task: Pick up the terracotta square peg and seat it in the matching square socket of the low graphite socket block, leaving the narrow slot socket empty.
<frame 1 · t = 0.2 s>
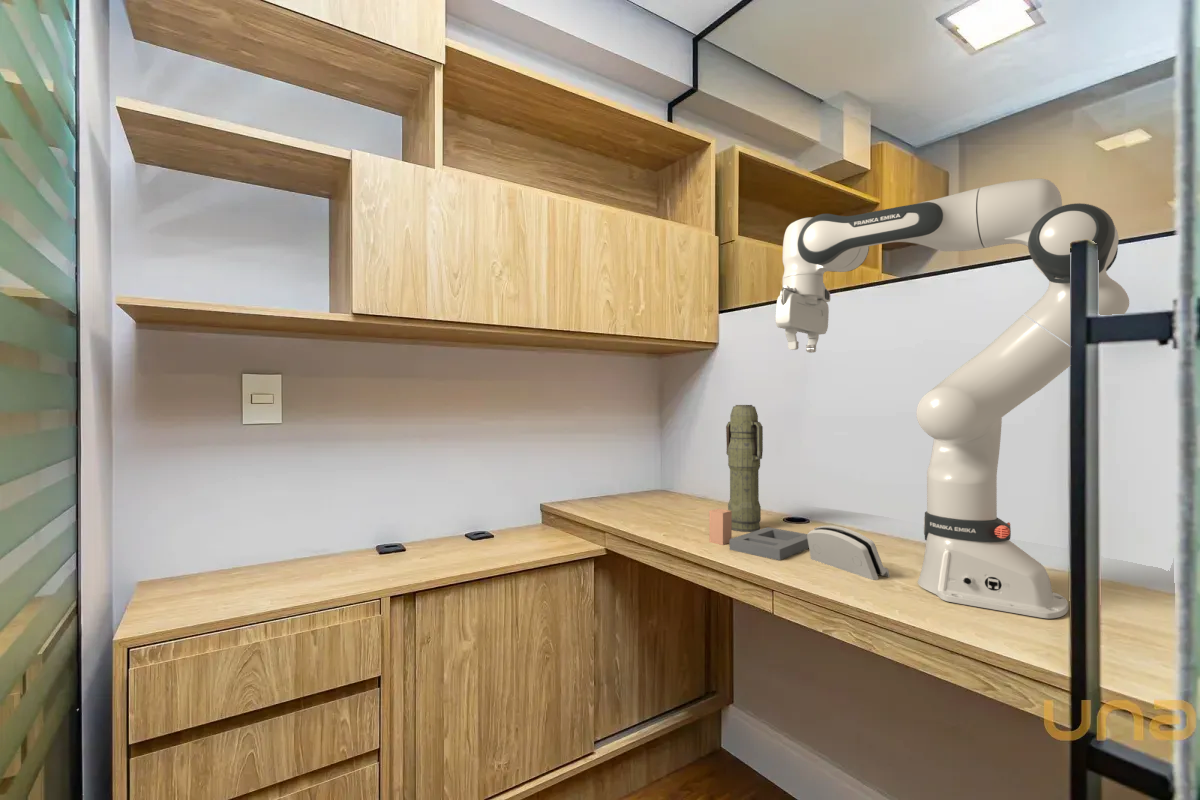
hand: (802, 351, 126), 48 cm above the table, fingers open, 8 cm apart
socket block: (769, 548, 133), on the table
grey arched slotted block: (844, 570, 117), on the table
thermos: (743, 529, 155), on the table
square peg: (720, 542, 139), on the table
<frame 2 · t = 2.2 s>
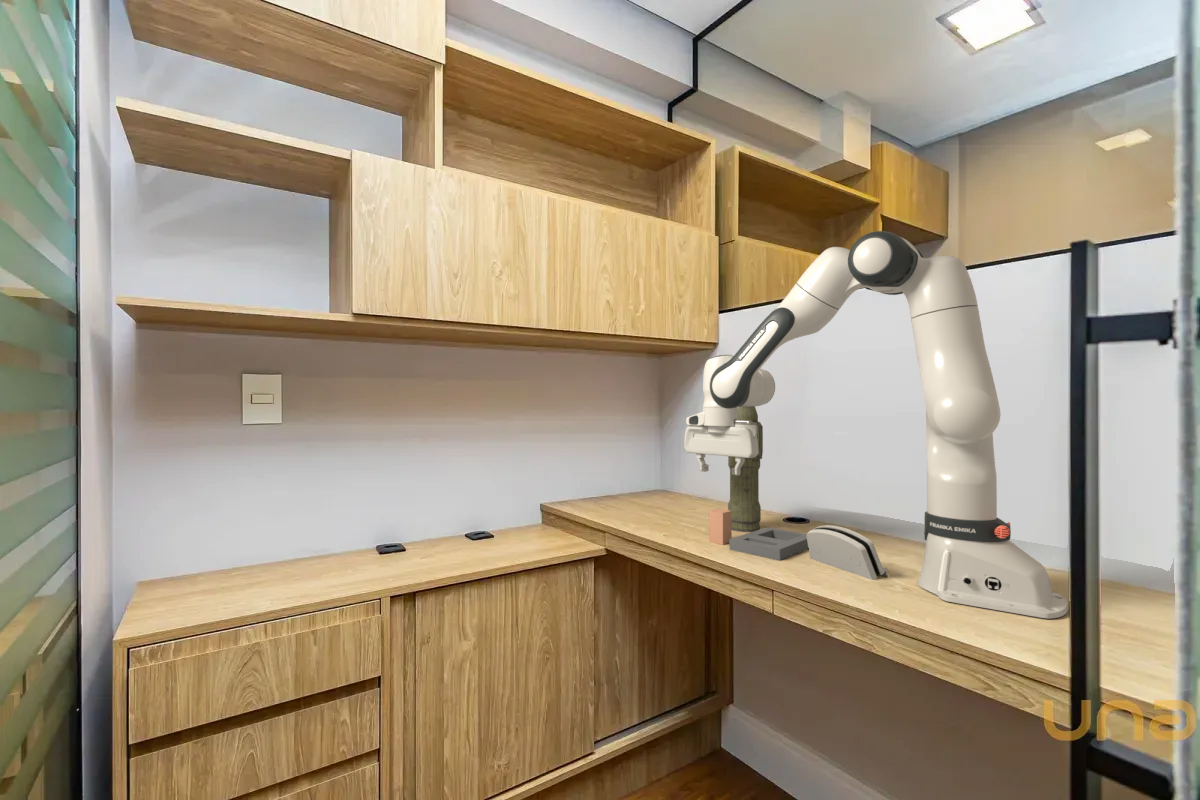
hand: (719, 473, 139), 18 cm above the table, fingers open, 8 cm apart
nothing on the table moved.
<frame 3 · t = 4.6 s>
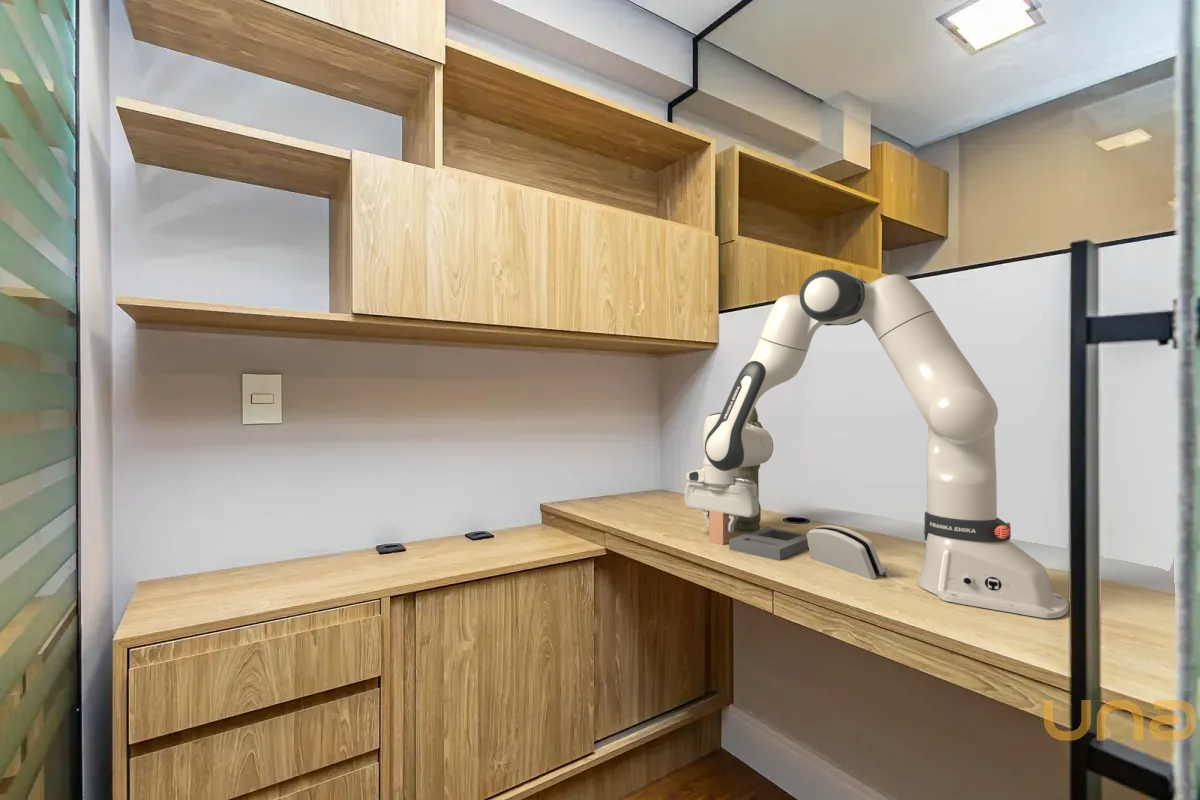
hand: (720, 529, 139), 3 cm above the table, fingers closed on square peg, 4 cm apart
square peg: (720, 542, 139), on the table, touching gripper
everything else where it was.
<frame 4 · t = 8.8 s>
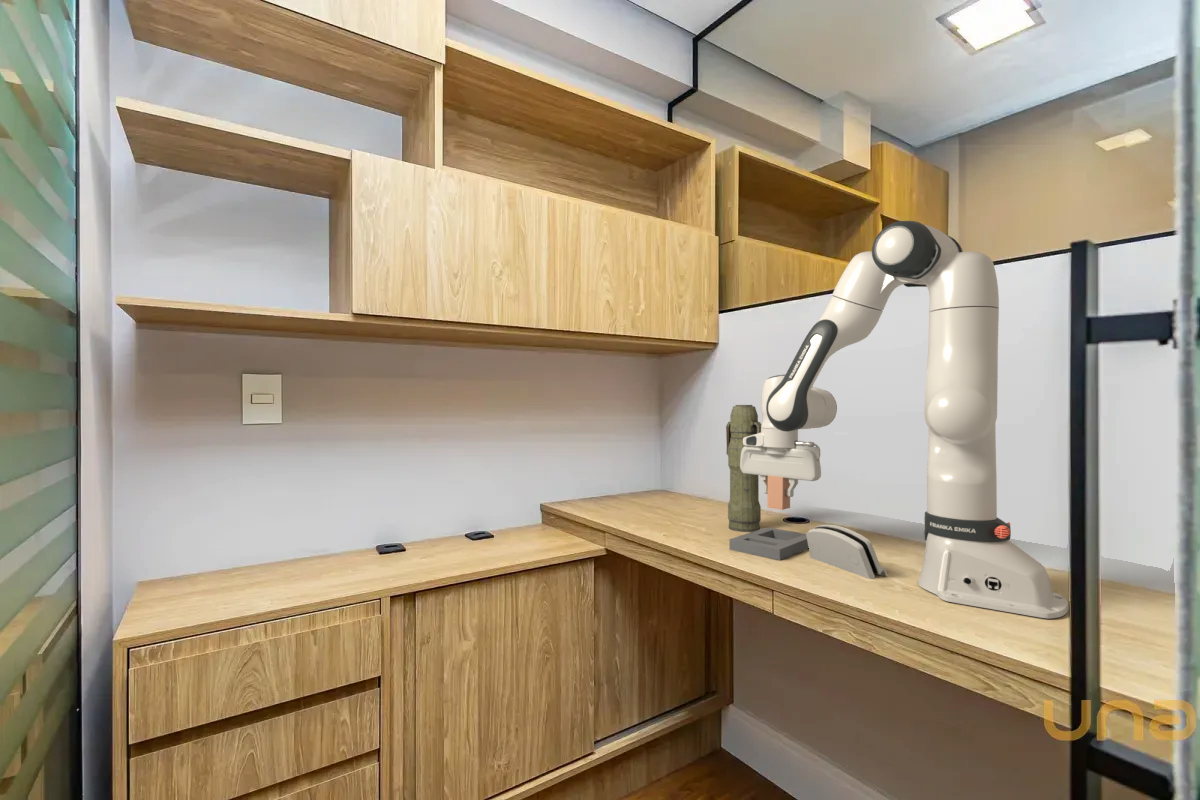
hand: (778, 495, 136), 12 cm above the table, fingers closed on square peg, 4 cm apart
square peg: (778, 507, 136), point 9 cm above the table, touching gripper
everything else where it was.
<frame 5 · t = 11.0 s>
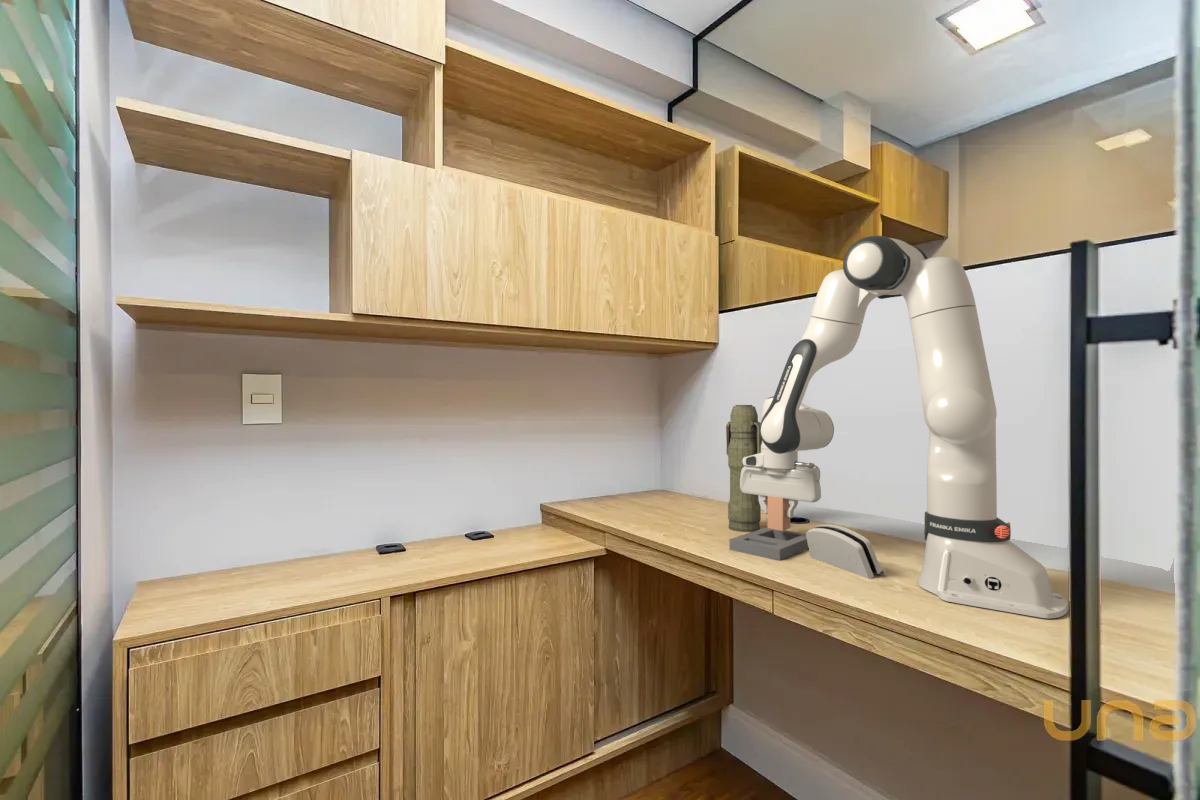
hand: (778, 515, 136), 7 cm above the table, fingers closed on square peg, 4 cm apart
square peg: (778, 528, 136), point 4 cm above the table, touching gripper
when the fingers open (4 cm above the table, at t = 13.0 s): square peg stays where it is, resting in socket block.
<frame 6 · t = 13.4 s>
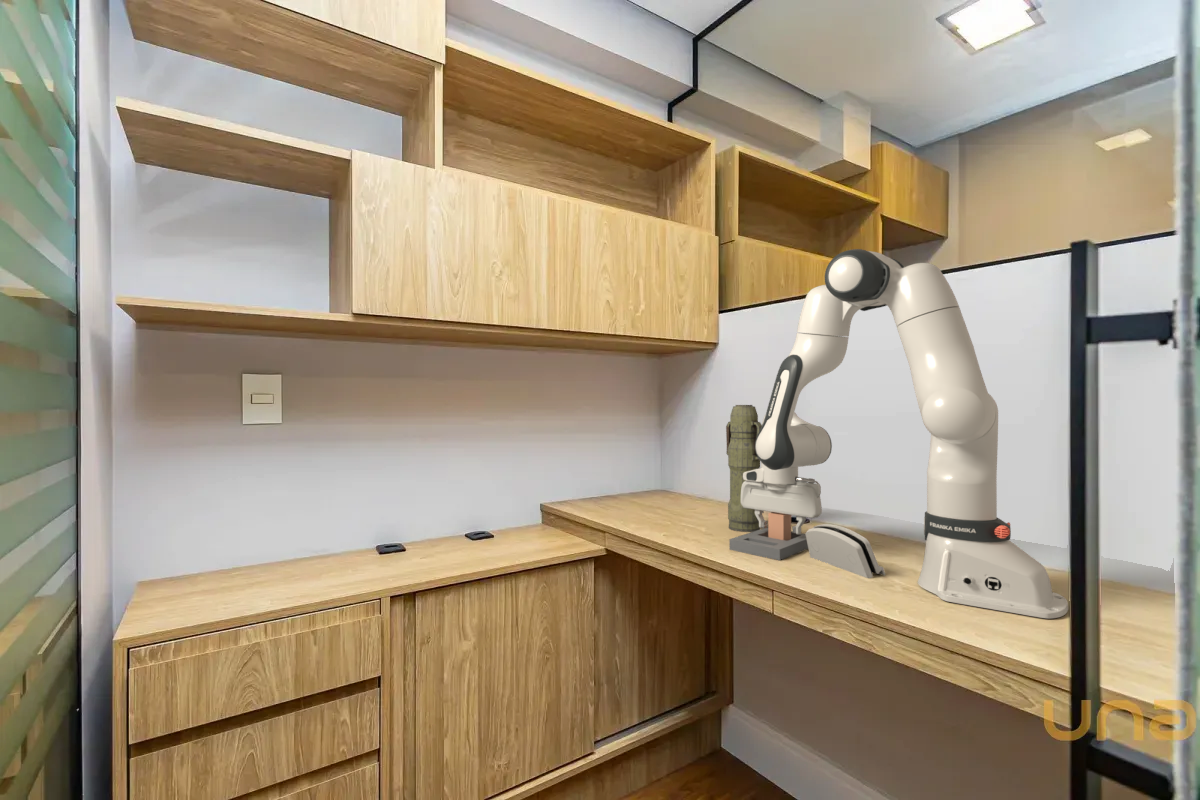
hand: (779, 530, 136), 4 cm above the table, fingers open, 8 cm apart
square peg: (779, 545, 136), resting in socket block
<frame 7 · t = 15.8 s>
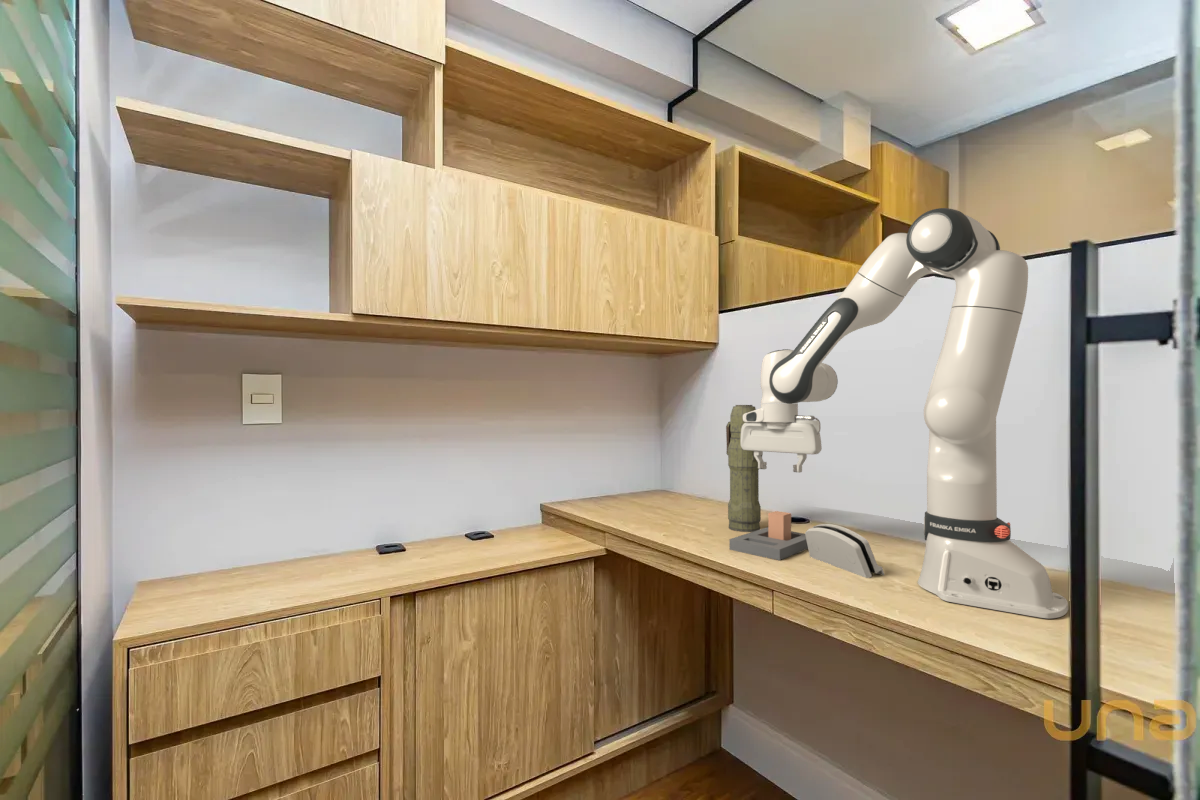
hand: (779, 470, 136), 19 cm above the table, fingers open, 8 cm apart
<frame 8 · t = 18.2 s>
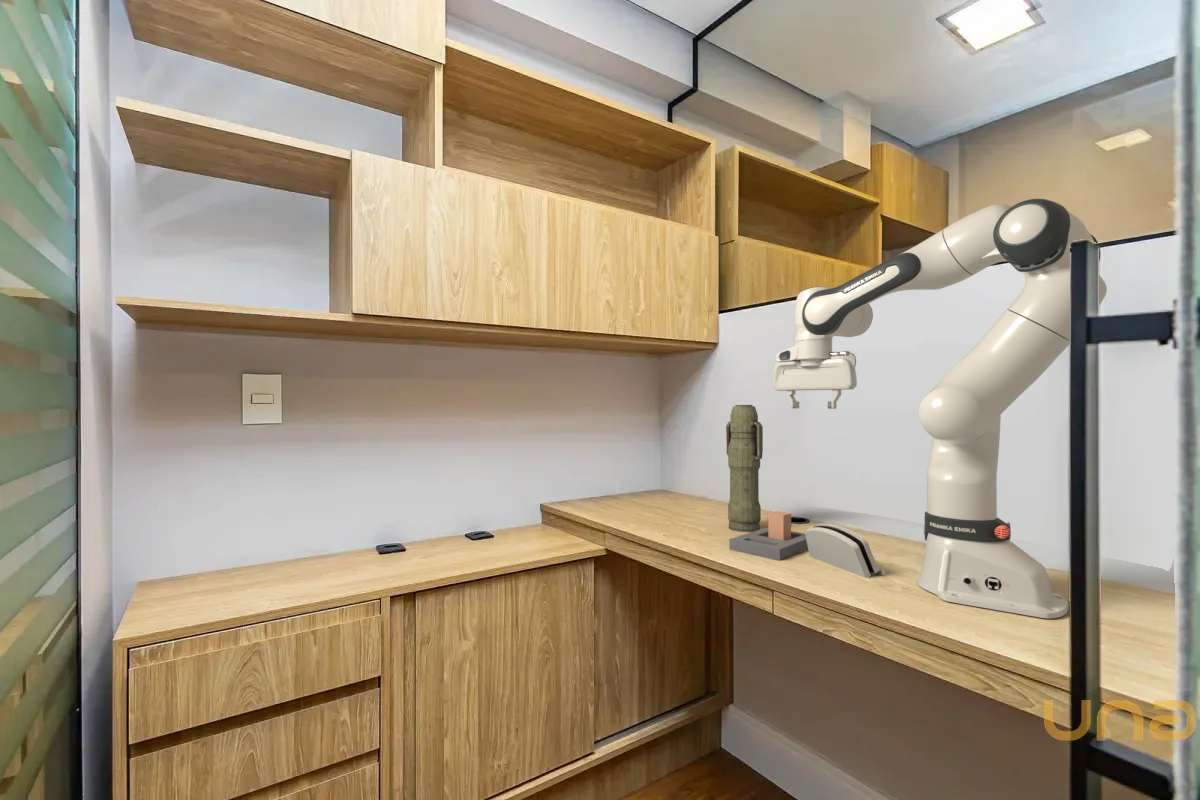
hand: (813, 408, 136), 34 cm above the table, fingers open, 8 cm apart
at the end: square peg 0.1 cm from the target spot on the socket block, point 0.0 cm above the socket block's base; square peg tilted 0°; the gripper is holding nothing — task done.
